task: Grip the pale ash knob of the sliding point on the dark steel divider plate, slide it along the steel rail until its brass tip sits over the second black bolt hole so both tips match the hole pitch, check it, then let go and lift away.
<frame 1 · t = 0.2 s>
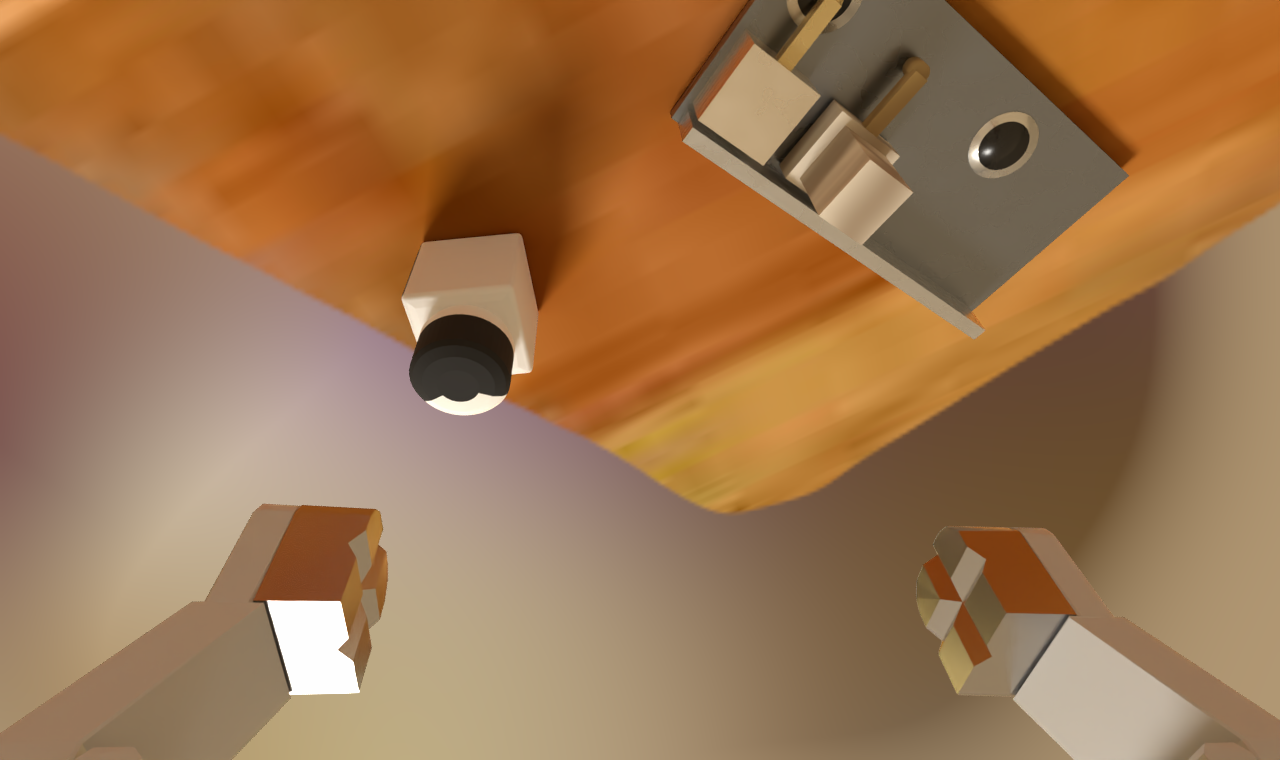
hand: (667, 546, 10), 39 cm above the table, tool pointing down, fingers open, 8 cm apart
divider plate: (904, 142, 47), on the table
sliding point: (877, 146, 42), point 5 cm above the table, slide at -4.0 cm
medicine bottle: (482, 277, 52), on the table
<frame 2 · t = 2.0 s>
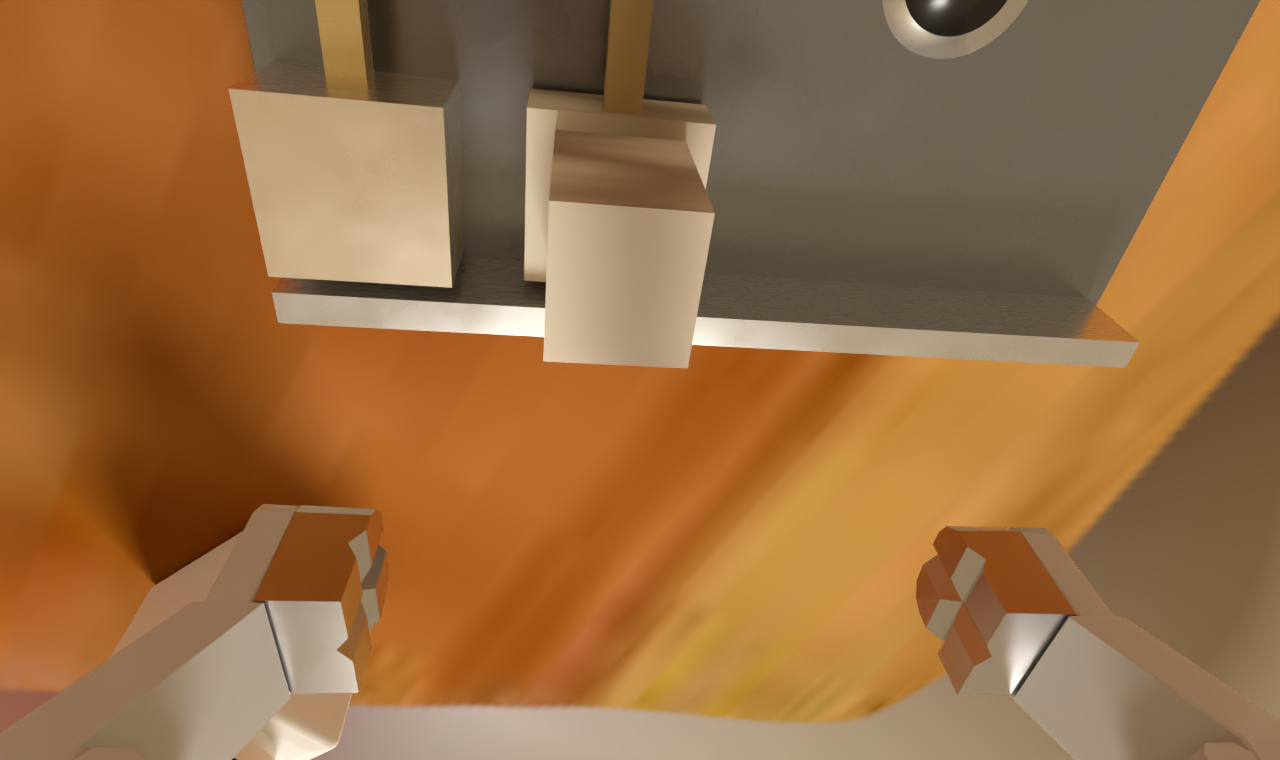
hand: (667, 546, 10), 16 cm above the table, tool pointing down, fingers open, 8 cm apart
divider plate: (750, 80, 22), on the table
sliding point: (625, 141, 18), point 5 cm above the table, slide at -4.0 cm
medicine bottle: (270, 589, 34), on the table
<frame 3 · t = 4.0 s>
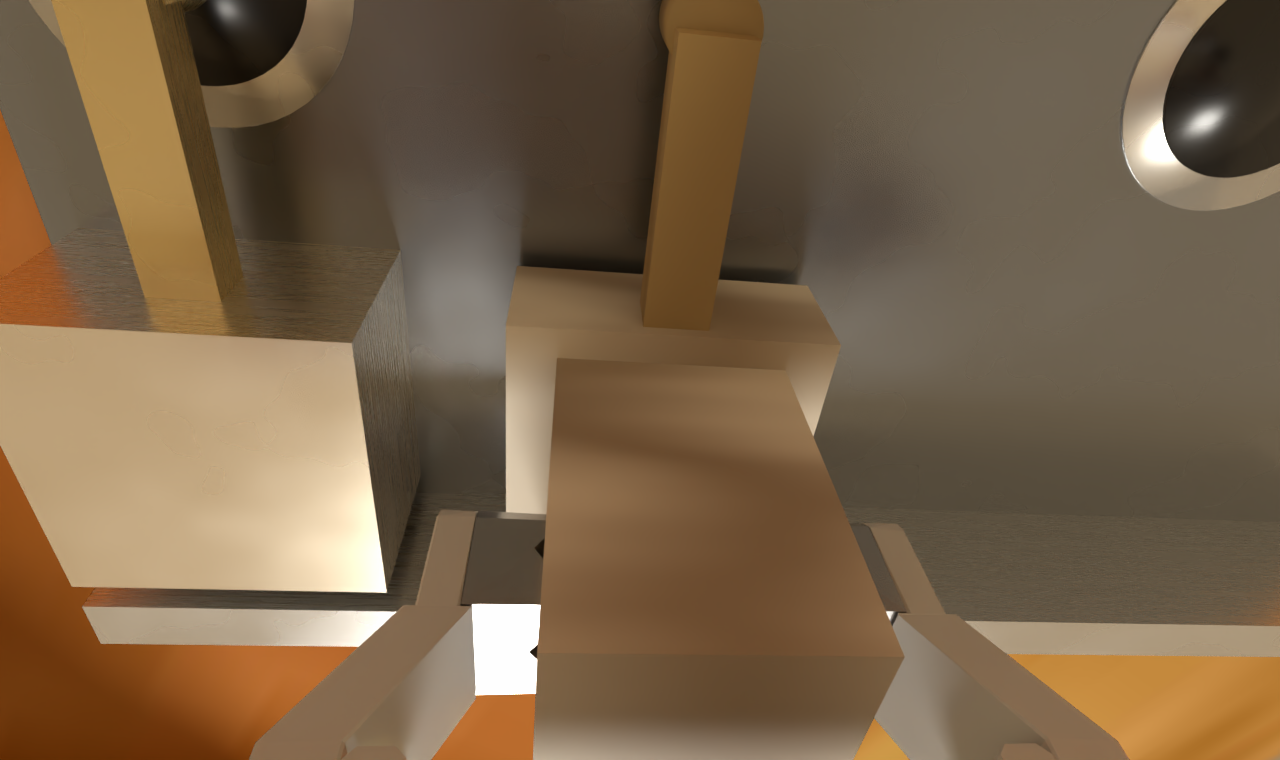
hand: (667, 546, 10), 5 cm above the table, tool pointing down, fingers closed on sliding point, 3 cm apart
divider plate: (876, 235, 13), on the table
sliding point: (687, 407, 9), point 5 cm above the table, slide at -4.0 cm, touching gripper
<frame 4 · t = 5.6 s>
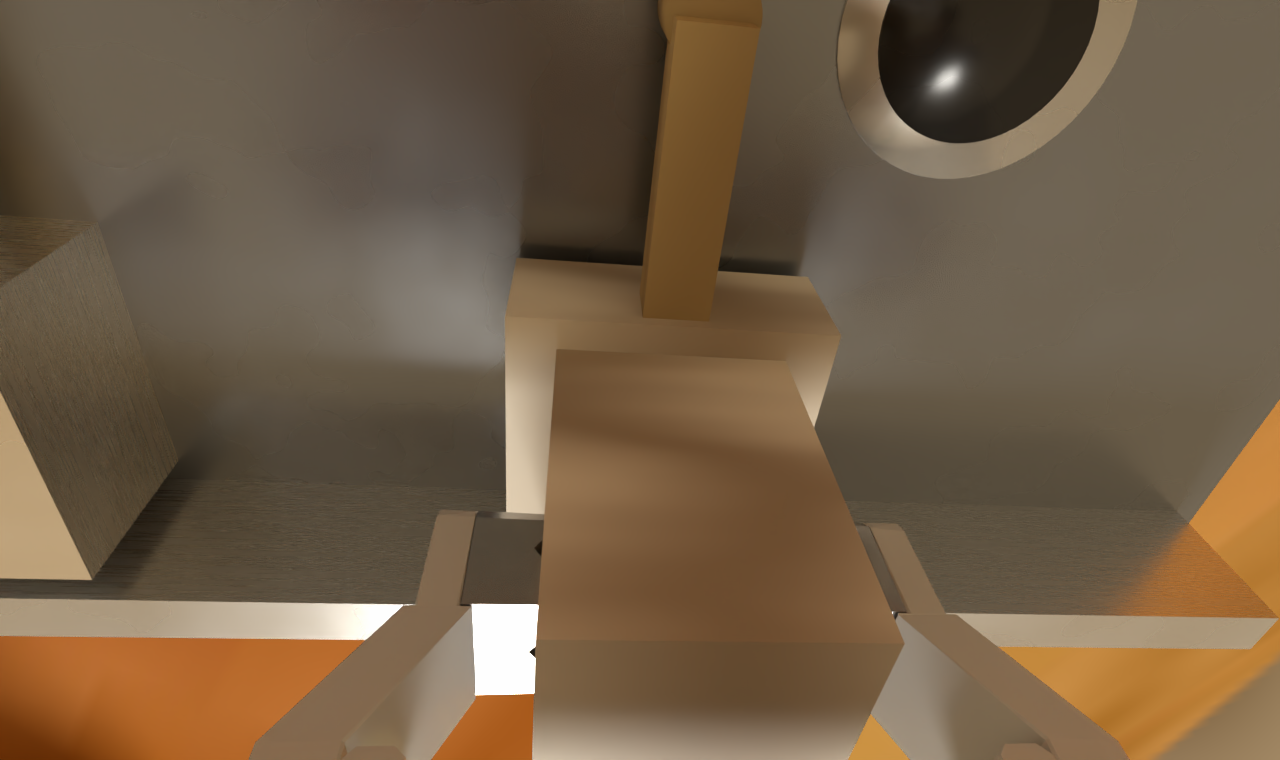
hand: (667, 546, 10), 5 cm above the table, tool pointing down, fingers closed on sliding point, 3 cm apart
divider plate: (626, 208, 13), on the table
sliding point: (687, 396, 9), point 5 cm above the table, slide at 0.7 cm, touching gripper
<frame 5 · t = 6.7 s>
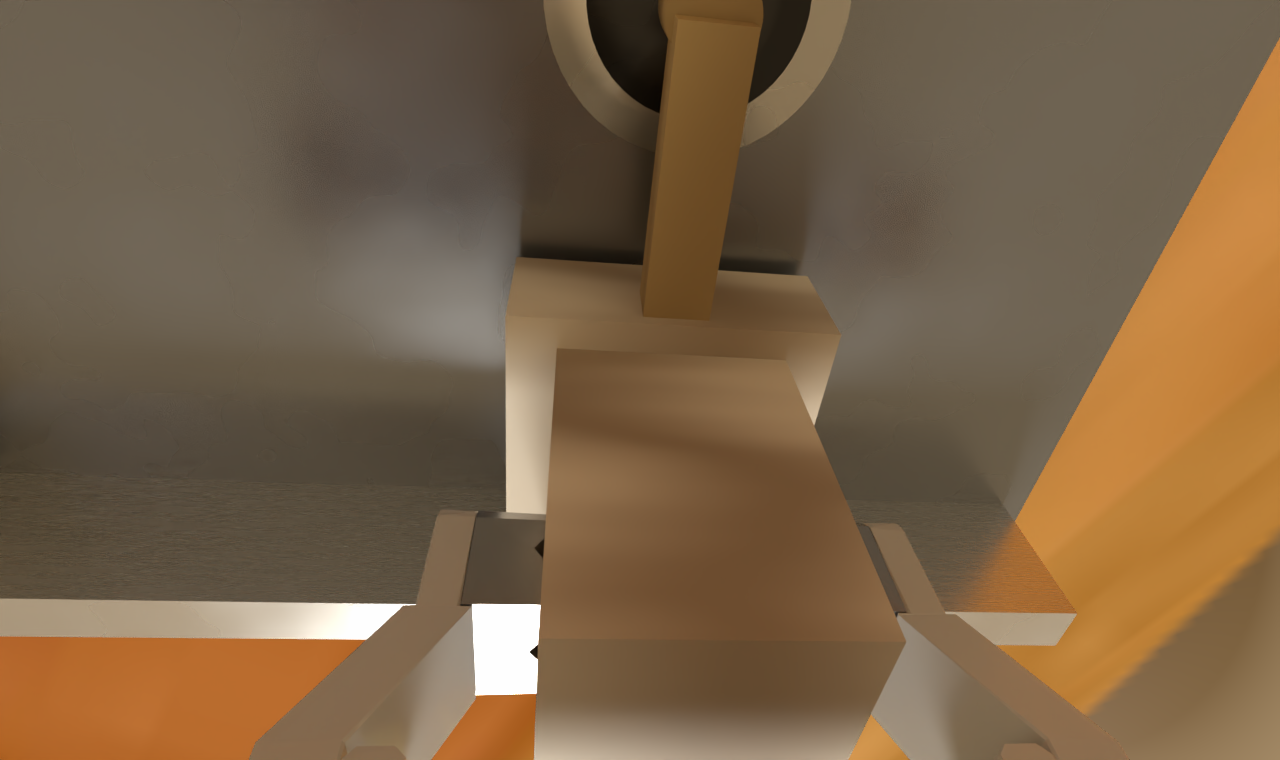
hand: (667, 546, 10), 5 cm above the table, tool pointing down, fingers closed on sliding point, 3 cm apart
divider plate: (378, 189, 12), on the table
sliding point: (687, 395, 9), point 5 cm above the table, slide at 5.0 cm, touching gripper
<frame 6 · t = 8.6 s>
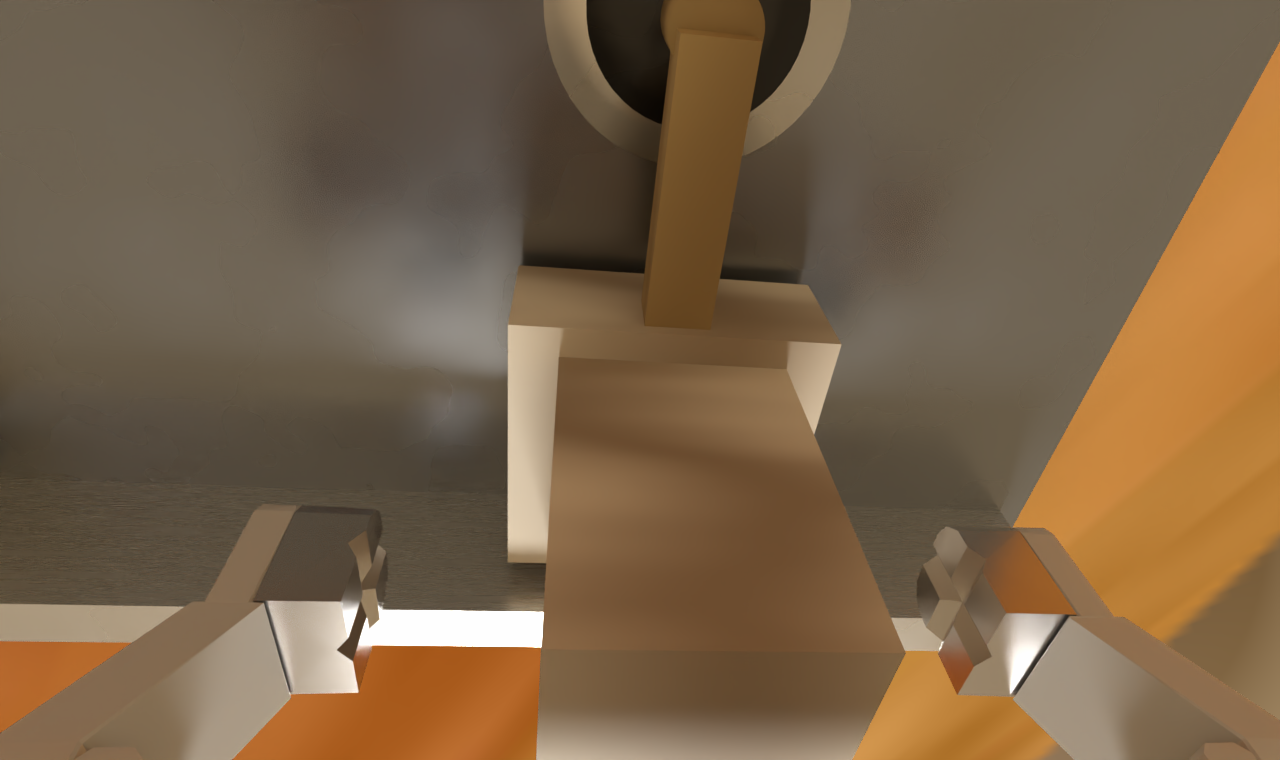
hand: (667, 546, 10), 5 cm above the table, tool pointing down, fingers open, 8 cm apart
divider plate: (379, 197, 12), on the table
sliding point: (689, 405, 9), point 5 cm above the table, slide at 5.0 cm
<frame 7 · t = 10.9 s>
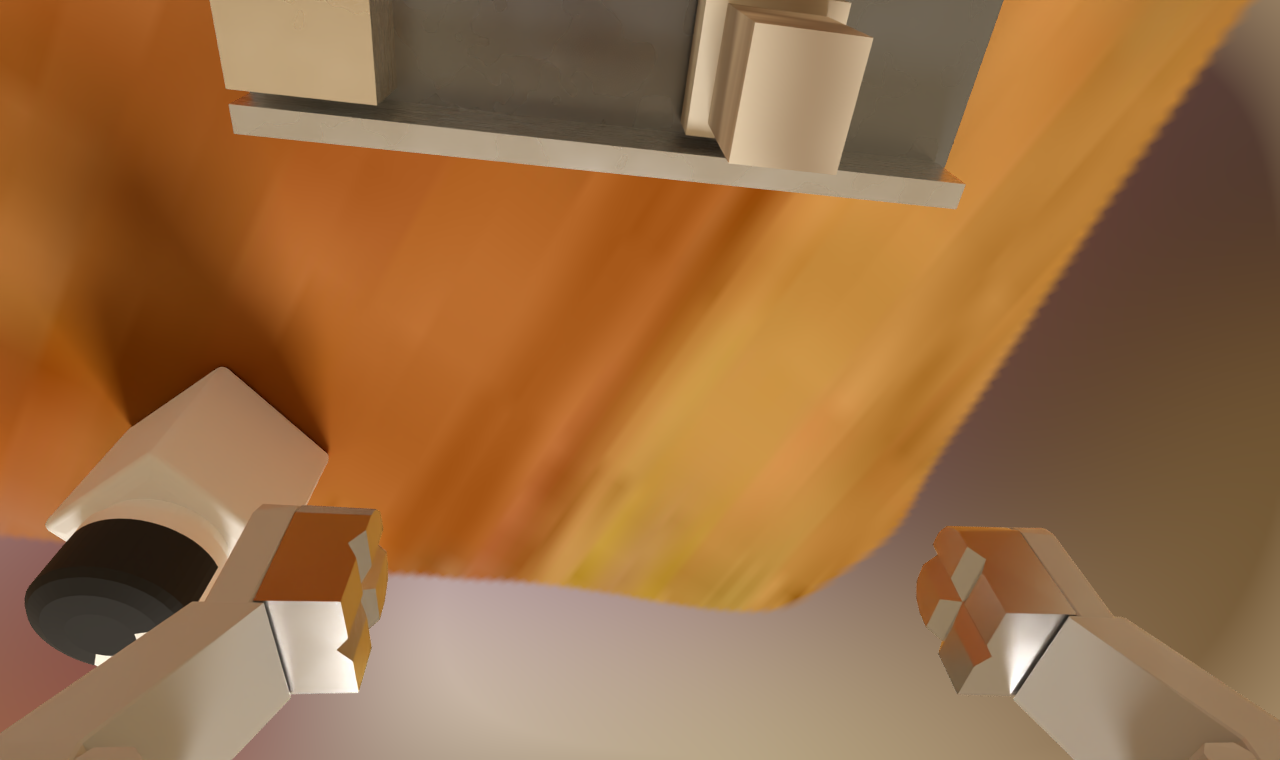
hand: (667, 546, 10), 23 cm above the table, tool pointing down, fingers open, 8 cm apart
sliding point: (789, 4, 23), point 5 cm above the table, slide at 5.0 cm
medicine bottle: (234, 439, 38), on the table
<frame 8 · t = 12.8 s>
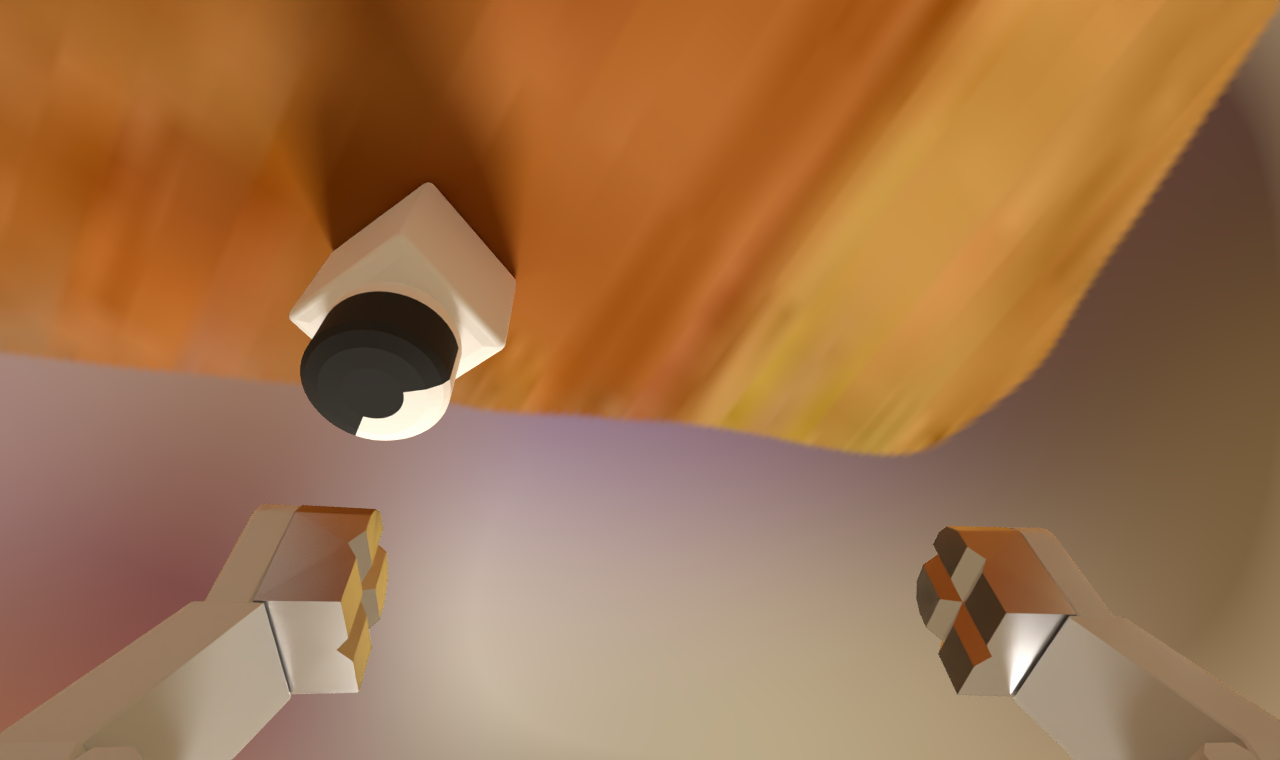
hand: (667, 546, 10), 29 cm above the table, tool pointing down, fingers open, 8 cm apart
medicine bottle: (427, 265, 39), on the table
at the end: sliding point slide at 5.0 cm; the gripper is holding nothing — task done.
